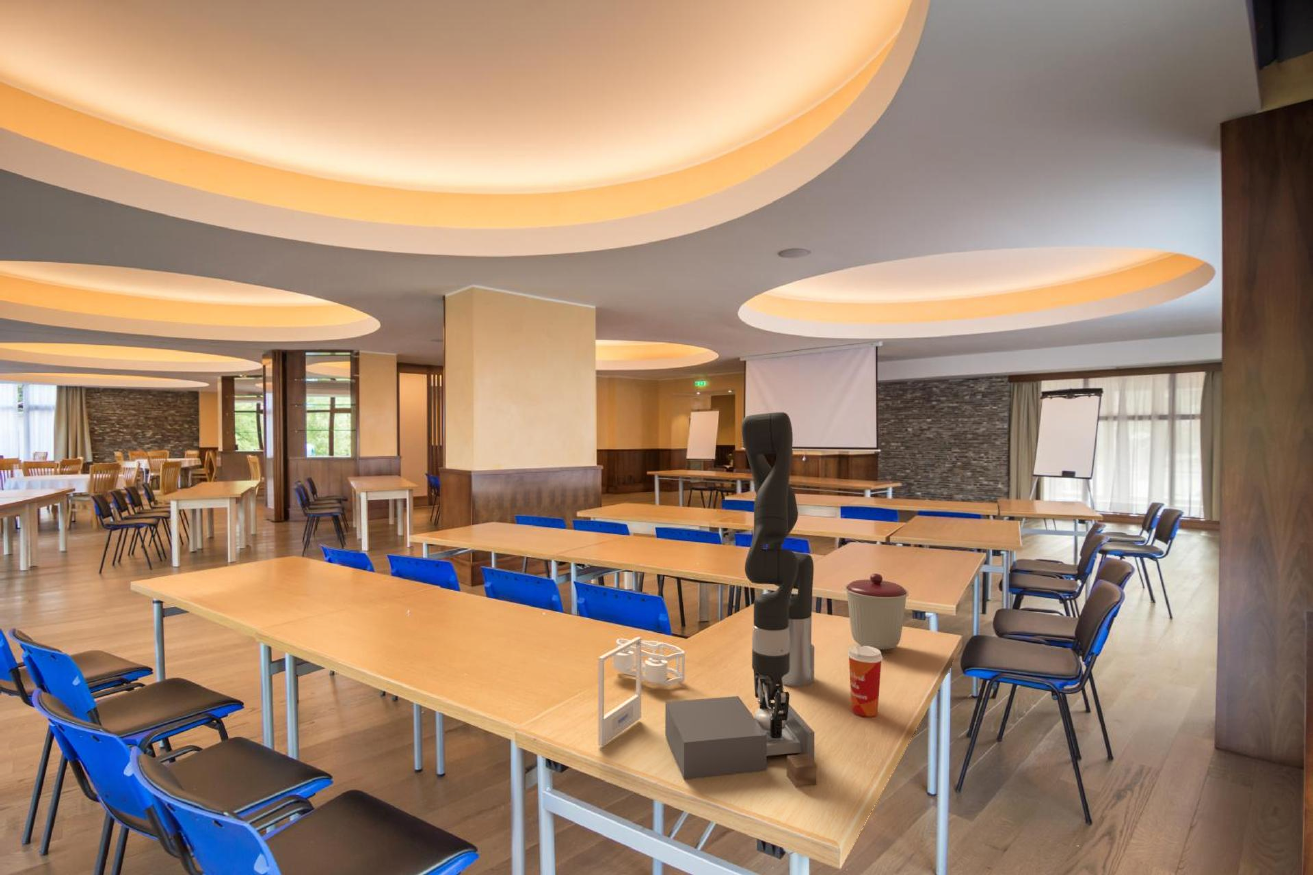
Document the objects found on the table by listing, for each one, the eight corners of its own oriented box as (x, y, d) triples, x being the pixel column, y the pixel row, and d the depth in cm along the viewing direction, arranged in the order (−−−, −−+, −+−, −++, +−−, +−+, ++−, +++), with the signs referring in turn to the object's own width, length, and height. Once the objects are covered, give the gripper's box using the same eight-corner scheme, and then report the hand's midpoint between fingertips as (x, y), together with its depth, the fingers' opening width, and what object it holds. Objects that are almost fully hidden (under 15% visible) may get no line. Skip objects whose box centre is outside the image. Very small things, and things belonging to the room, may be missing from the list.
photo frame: (602, 746, 126) (602, 658, 126) (598, 745, 127) (598, 657, 126) (641, 717, 139) (642, 637, 138) (637, 716, 139) (637, 636, 139)
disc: (778, 715, 130) (778, 706, 130) (790, 729, 124) (790, 719, 124) (751, 718, 129) (751, 708, 129) (761, 732, 123) (761, 722, 123)
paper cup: (841, 704, 146) (842, 644, 146) (873, 703, 146) (874, 644, 146) (855, 719, 138) (855, 657, 138) (888, 718, 139) (889, 656, 138)
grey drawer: (782, 722, 136) (782, 694, 136) (816, 764, 119) (816, 731, 119) (715, 728, 133) (715, 699, 133) (741, 771, 116) (741, 739, 116)
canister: (855, 630, 199) (855, 564, 199) (914, 641, 188) (915, 572, 188) (835, 646, 184) (836, 575, 184) (898, 659, 174) (899, 584, 173)
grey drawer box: (738, 728, 134) (738, 695, 134) (766, 771, 117) (766, 734, 117) (665, 734, 131) (665, 701, 131) (683, 780, 114) (684, 742, 114)
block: (806, 774, 116) (807, 753, 116) (816, 787, 112) (816, 765, 112) (786, 777, 115) (786, 755, 115) (795, 789, 112) (795, 767, 111)
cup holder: (604, 671, 165) (604, 644, 165) (631, 659, 173) (632, 633, 173) (663, 692, 152) (663, 662, 152) (689, 678, 161) (689, 650, 161)
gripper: (803, 659, 120) (802, 746, 120) (775, 634, 134) (774, 712, 134) (766, 661, 118) (765, 749, 119) (741, 636, 132) (741, 715, 133)
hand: (770, 729), depth 126 cm, fingers closed on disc, 5 cm apart
